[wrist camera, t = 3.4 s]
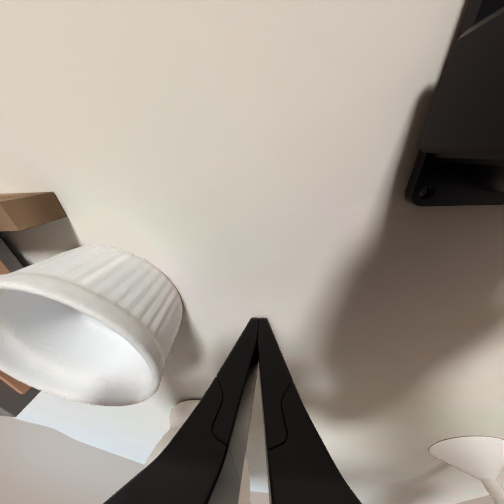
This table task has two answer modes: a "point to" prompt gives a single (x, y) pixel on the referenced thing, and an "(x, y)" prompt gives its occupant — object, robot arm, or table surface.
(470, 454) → the champagne flute
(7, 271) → the block
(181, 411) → the jar
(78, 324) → the ramekin
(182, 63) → the table surface
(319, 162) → the table surface
